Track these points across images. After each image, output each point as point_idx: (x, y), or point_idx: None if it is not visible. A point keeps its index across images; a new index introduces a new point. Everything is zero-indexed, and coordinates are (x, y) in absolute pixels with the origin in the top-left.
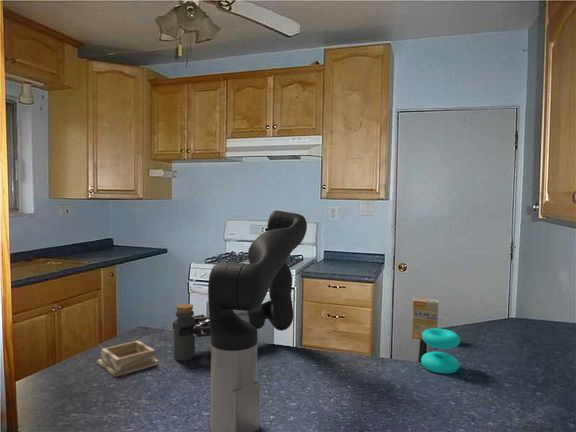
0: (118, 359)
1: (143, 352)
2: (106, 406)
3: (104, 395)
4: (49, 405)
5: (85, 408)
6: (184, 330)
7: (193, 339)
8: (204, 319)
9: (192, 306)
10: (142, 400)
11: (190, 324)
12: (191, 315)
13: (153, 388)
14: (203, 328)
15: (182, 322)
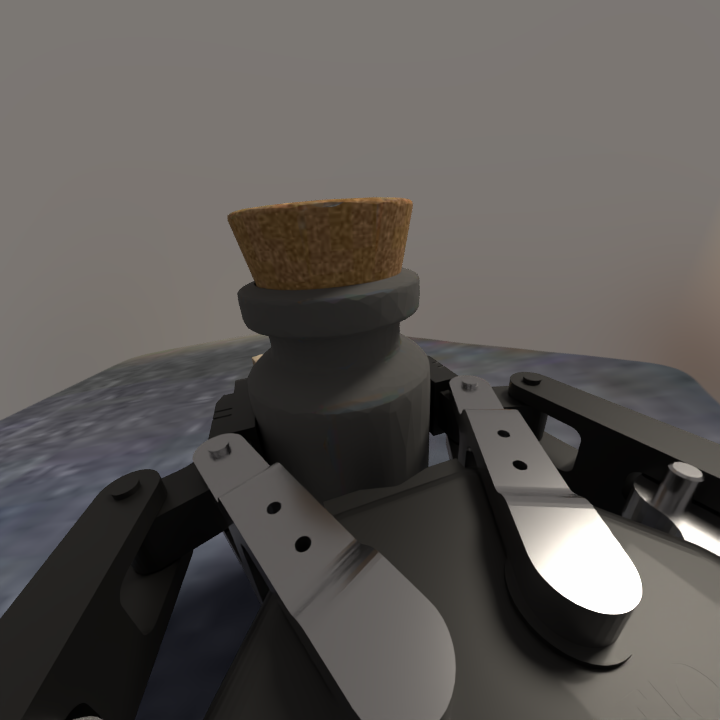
0: (253, 358)
1: None
2: (92, 410)
3: (157, 398)
4: (185, 357)
5: (122, 388)
6: (216, 407)
7: None
8: (507, 534)
9: (266, 209)
10: (31, 465)
11: (251, 404)
12: (257, 324)
13: (87, 479)
14: (58, 553)
15: (267, 351)
